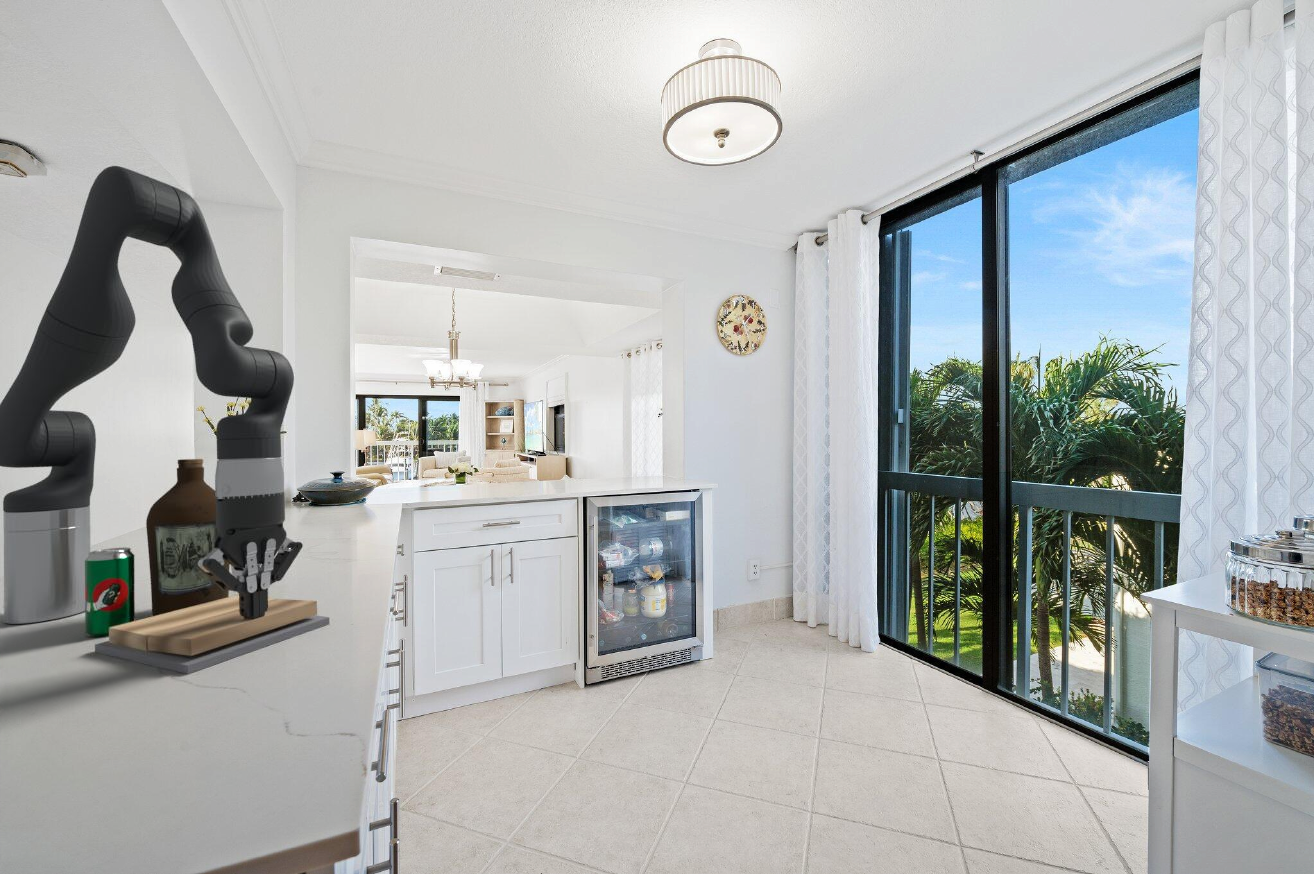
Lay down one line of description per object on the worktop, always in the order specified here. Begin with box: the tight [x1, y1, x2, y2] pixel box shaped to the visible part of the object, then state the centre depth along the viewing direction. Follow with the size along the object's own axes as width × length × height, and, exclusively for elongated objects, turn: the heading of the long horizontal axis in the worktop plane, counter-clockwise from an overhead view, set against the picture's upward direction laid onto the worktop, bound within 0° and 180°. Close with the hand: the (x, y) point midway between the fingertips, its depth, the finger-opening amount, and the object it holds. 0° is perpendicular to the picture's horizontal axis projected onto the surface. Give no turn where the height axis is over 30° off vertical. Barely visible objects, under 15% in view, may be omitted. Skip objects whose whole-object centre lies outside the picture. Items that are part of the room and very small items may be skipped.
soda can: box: [84, 547, 136, 638], centre depth 77 cm, size 5×5×12 cm
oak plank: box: [108, 594, 275, 651], centre depth 76 cm, size 8×16×2 cm, turn 159°
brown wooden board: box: [147, 598, 318, 656], centre depth 73 cm, size 9×16×2 cm, turn 159°
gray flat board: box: [94, 614, 330, 675], centre depth 75 cm, size 20×18×1 cm
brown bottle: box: [145, 458, 231, 617], centre depth 87 cm, size 11×11×25 cm
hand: (253, 617), depth 72 cm, fingers closed
